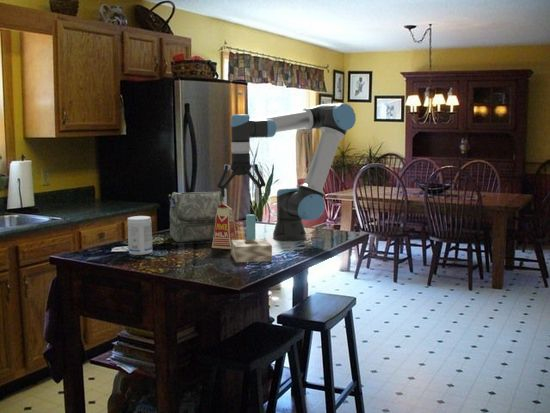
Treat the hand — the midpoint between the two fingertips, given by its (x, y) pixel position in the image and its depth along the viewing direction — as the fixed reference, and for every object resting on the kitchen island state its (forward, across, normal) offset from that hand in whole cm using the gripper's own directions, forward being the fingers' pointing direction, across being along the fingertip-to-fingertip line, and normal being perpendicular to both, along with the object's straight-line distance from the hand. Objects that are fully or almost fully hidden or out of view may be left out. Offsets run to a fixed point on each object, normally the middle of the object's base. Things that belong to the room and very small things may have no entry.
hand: (241, 204), depth 256 cm
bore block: (+19, 0, +15) cm, 24 cm away
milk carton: (+20, +6, -10) cm, 23 cm away
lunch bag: (+20, +14, -32) cm, 40 cm away
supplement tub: (+19, +41, -6) cm, 46 cm away
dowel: (+20, -3, +2) cm, 20 cm away
